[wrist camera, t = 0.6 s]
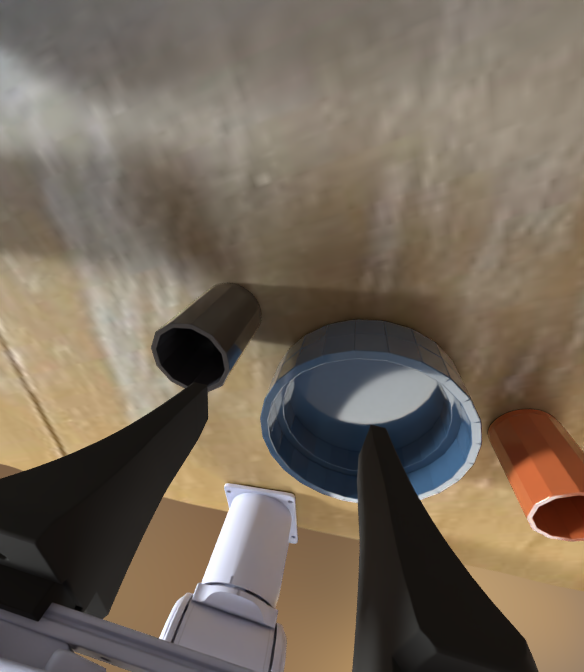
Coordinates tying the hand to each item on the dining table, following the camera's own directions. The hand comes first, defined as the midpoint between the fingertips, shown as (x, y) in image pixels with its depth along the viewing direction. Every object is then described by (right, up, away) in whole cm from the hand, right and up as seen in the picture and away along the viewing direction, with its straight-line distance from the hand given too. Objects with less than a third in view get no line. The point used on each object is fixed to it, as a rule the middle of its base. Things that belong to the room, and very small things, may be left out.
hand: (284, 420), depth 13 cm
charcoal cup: (-4, +6, +9) cm, 12 cm away
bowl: (+6, -1, +11) cm, 12 cm away
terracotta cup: (+18, -4, +10) cm, 21 cm away
